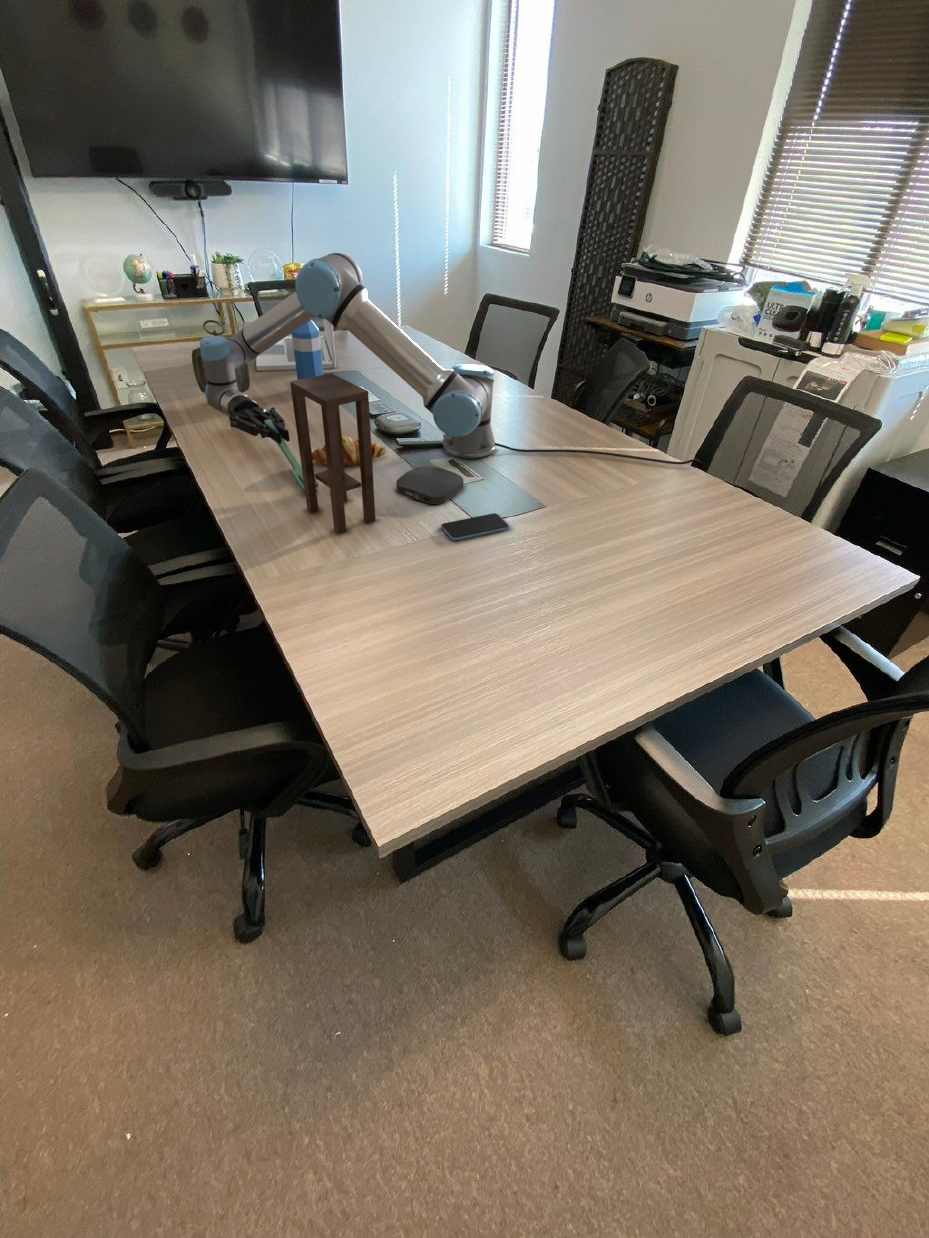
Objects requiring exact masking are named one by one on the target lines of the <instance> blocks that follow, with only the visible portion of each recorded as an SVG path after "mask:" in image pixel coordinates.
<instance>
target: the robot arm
mask: <svg viewBox="0 0 929 1238" xmlns="http://www.w3.org/2000/svg"><path fill="white" fill-rule="evenodd" d="M363 278H364V277H363V273H362V271H361V268H360V265H358V263H357V262H356V261H355V259H353V257H351V256H350V255H347V254H345V253H342V252H332V253H329V254H327V255H324V256H321V257H319V258H312V259H311V260H309V261H308V262H306V263H305V264H304V265H302V267H301V268H300V269H299V271H298V273H297V275H296V278H295V291H294V292H292V293H291V294H290V295H289V296H287V297H286V298H284V299H283V300H282V301H280V302H279V303H277V304H276V305H274V306H273V307H272V308H270V309H269V310H267V311H266V312H265V313H263V314H262V315H260V316H259V317H257V318H256V319H255V320H253V321H252V322H251V323H249V324H248V325H246V326H245V327H243V328H242V329H240V330H239V331H238V332H236V333H235V334H234V335H231V336H230V337H228V338H227V337H225V336H222V335H220V336H214V335H209V336H204V337H202V338H201V339H200V340H199V347H200V350H201V357H202V361H203V365H204V369H205V374H206V378H207V383H208V384H207V386H206V389H205V393H204V395H205V399H206V402H207V401H208V402H209V403H210V404H209V405H211V406H212V407H213V408H214V409H215V410H217V411H219V412H220V413H222V414H223V415H225V416H226V417H228V419H229V426H230V428H234V429H238V430H240V431H242V432H244V433H246V434H248V435H251V436H253V437H257V436H258V435H260V437H261V439H266V438H268V439H269V438H270V439H271V440H273V441H274V442H275V443H276V444H277V443H278V444H280V443H282V442H281V437H282V438H283V440H284V441H285V442H286V443H287V442H290V441H291V437H290V431H289V429H287V428H286V423H285V419H284V417H283V416H282V415H281V414H280V413H279V412H277V409H276V407H273V406H272V407H271V408H269V409H268V410H266V409H265V408H263V407H260V405H259V404H258V403H257V402H256V401H255V400H254V399H253V398H251V397H249V396H248V395H247V394H244V392H243V393H241V392H239V391H238V388H237V383H236V377H235V371H234V370H235V369H237V368H238V367H240V366H242V365H244V364H246V363H247V364H248V363H249V362H252V361H253V360H255V359H256V357H257V356H258V355H260V354H261V353H262V352H264V351H265V350H267V349H268V348H270V347H271V346H273V345H274V344H276V343H277V342H279V341H280V340H282V339H283V338H285V337H287V336H289V335H290V336H291V335H292V333H293V332H294V331H296V330H297V329H299V328H300V327H302V326H303V325H305V324H306V323H308V322H309V321H311V320H312V321H313V320H314V319H320V320H323V319H326V320H327V321H328V322H330V323H331V324H332V325H333V328H335V329H336V330H338V331H341V330H345V331H346V330H347V331H348V332H349V333H350V334H352V335H353V336H354V337H355V338H356V339H357V340H358V341H359V342H360V343H362V345H363V346H365V347H366V348H367V349H368V350H369V351H371V353H373V354H374V355H375V356H376V357H377V358H378V359H379V360H381V361H382V362H383V363H384V364H385V365H386V366H387V367H388V368H389V369H391V371H393V372H394V373H395V374H396V375H397V376H399V377H400V378H401V380H403V381H404V382H405V383H406V384H407V385H408V386H410V388H412V389H413V390H414V391H415V392H416V393H417V394H418V395H420V397H421V398H422V402H423V403H422V404H423V407H424V408H425V409H426V410H428V412H430V413H431V414H432V416H433V422H434V424H435V426H436V428H437V429H438V430H439V431H440V432H442V433H443V434H442V438H443V439H442V450H443V451H444V452H445V453H447V455H450V456H452V457H455V458H459V459H466V460H467V459H468V460H469V459H470V460H476V459H483V458H486V457H489V456H491V455H493V454H494V452H495V451H496V447H500V448H503V449H506V450H508V451H509V450H510V451H513V452H520V453H578V454H579V453H580V454H593V455H603V456H611V457H612V456H613V457H619V458H627V459H634V460H640V461H641V460H642V461H649V462H656V463H662V464H669V465H687V464H690V463H695V462H696V463H698V464H699V465H703V463H702V461H701V460H700V459H697V458H692V459H689V460H685V461H673V460H672V461H671V460H663V459H657V458H651V457H643V456H637V455H630V454H628V455H627V454H621V453H614V452H606V451H596V450H584V449H583V450H582V449H525V448H524V449H523V448H514V447H510V446H507V445H505V444H501V443H497V442H496V439H495V436H494V432H493V428H492V424H491V421H492V407H493V393H494V383H495V374H494V373H495V372H494V370H493V369H492V368H491V367H488V366H485V365H479V364H469V363H464V364H463V363H462V364H461V363H460V364H455V365H453V366H452V367H451V369H449V368H448V369H445V368H443V367H442V366H441V365H440V364H438V363H437V362H436V361H435V360H434V359H433V358H432V357H431V356H430V355H429V354H428V353H427V352H426V351H424V349H422V348H421V347H420V346H419V345H418V344H417V343H416V342H415V341H413V339H411V338H410V336H408V335H407V334H406V333H405V332H404V331H403V330H402V329H401V328H400V327H398V326H397V325H396V324H395V323H394V322H393V321H392V320H391V319H390V318H389V317H388V316H387V315H385V314H384V313H383V312H382V311H381V310H380V309H379V308H378V307H377V306H376V305H374V303H372V302H371V301H370V300H369V297H368V290H367V288H366V287H365V286H364V279H363ZM269 419H270V420H271V421H272V423H273V424H274V426H275V427H276V429H277V430H278V431H277V430H275V429H274V428H272V427H271V426H269V425H268V424H267V425H265V424H264V420H269ZM278 444H277V445H278Z"/></svg>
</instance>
